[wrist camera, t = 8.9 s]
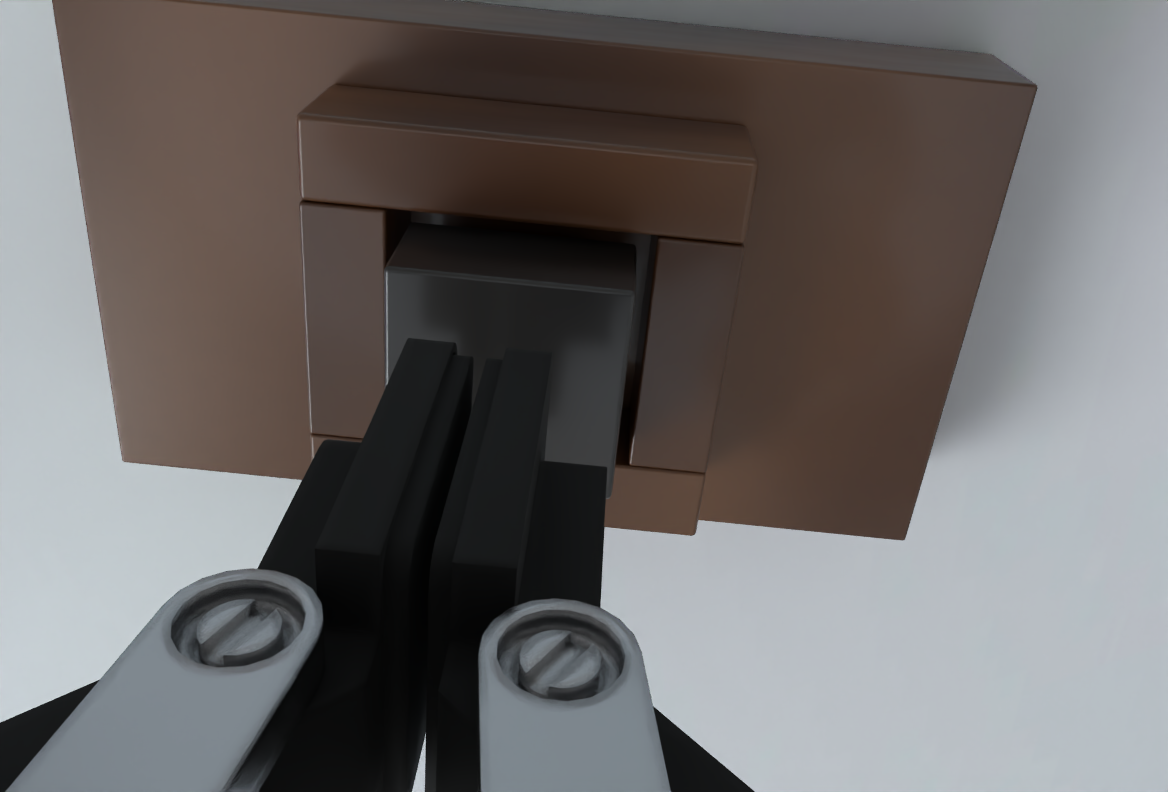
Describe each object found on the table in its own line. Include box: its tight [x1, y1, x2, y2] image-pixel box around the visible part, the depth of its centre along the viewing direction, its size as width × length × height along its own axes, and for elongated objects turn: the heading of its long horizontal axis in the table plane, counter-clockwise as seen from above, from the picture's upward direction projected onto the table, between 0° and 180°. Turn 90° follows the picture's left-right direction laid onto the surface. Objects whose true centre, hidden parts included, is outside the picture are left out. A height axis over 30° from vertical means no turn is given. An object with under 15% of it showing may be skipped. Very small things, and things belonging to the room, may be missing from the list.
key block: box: [52, 0, 1037, 540], centre depth 17 cm, size 14×8×4 cm, turn 85°
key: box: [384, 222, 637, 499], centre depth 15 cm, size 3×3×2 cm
